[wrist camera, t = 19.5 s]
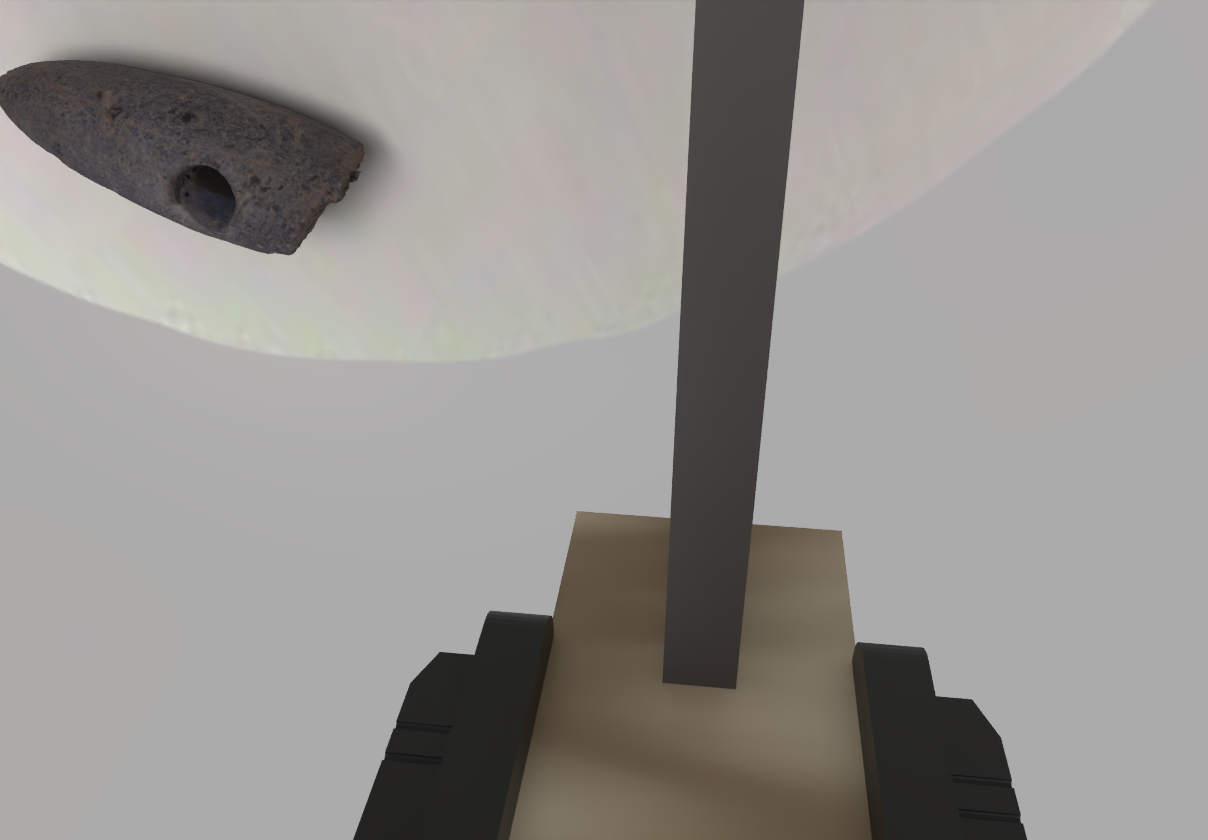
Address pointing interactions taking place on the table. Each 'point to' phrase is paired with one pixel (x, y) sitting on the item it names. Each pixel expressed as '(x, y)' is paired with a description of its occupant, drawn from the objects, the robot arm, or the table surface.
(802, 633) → the blade tool
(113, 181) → the perforated stone tool
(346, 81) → the table surface
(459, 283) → the table surface
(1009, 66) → the table surface
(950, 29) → the table surface
